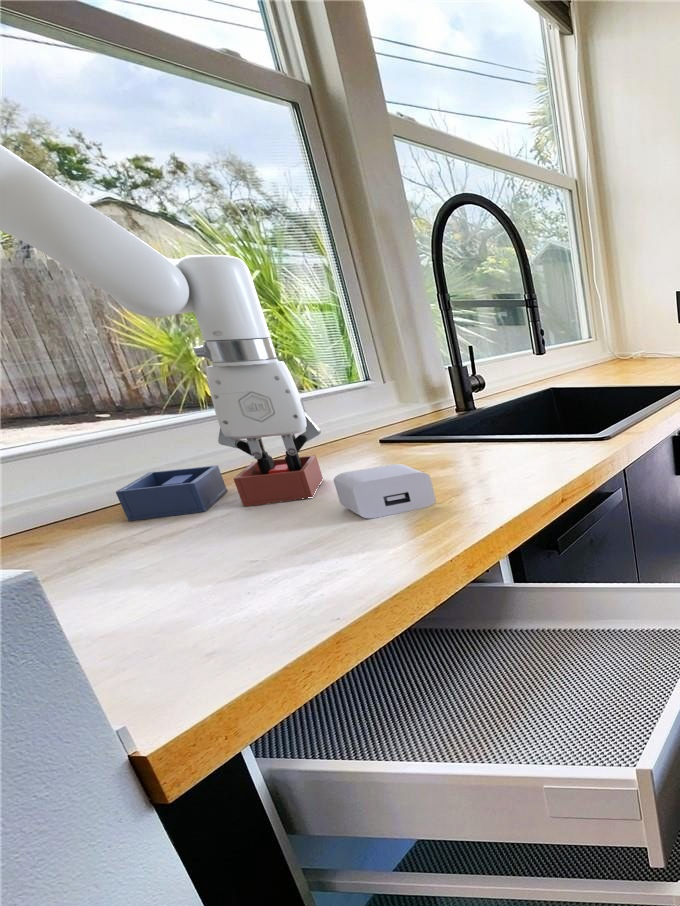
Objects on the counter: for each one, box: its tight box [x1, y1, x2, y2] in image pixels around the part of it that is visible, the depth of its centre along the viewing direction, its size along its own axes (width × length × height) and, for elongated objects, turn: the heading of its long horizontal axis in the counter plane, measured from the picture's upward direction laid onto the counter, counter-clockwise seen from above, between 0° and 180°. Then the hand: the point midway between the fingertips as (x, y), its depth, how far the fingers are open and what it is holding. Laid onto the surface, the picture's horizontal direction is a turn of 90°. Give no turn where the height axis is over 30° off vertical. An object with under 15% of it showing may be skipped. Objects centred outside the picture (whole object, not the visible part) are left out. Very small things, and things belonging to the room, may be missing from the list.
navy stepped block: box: [161, 474, 195, 486], centre depth 97 cm, size 10×4×3 cm, turn 27°
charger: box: [333, 463, 437, 519], centre depth 94 cm, size 5×9×15 cm
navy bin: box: [115, 464, 228, 522], centre depth 97 cm, size 8×13×4 cm, turn 27°
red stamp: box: [269, 464, 290, 474], centre depth 102 cm, size 10×4×3 cm, turn 27°
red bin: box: [233, 454, 324, 508], centre depth 102 cm, size 8×13×4 cm, turn 27°
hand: (286, 481), depth 104 cm, fingers closed on red stamp, 2 cm apart
